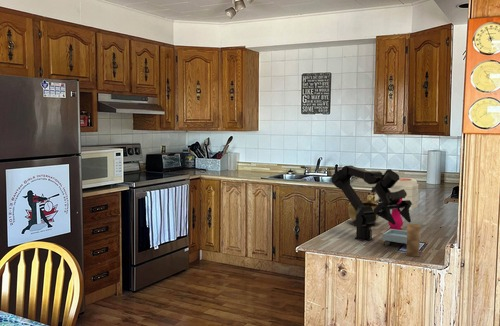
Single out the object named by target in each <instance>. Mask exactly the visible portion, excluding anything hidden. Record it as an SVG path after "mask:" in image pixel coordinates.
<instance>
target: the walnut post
mask: <svg viewBox="0 0 500 326" xmlns="http://www.w3.org/2000/svg"><path fill="white" fill-rule="evenodd" d="M406 229H407V230H406V231H407V244H406V245H407V247H406V253H405V254H406V256H408V257H411V256H412V257H413V258H416V257H419V256H420V240H421V235H420V233H421V225H420V224H418V223H408V224H407V228H406ZM419 239H420V240H419Z"/></svg>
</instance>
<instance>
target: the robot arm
mask: <svg viewBox="0 0 500 326" xmlns="http://www.w3.org/2000/svg"><path fill="white" fill-rule="evenodd" d="M353 176H354V177H356V178H359V179H362V180H363V182H365V183H367V184H368V185H374V186H371V191H370V192H371V193H373V194H374V193H375V194H377V195H378V197H379V198H380V200H379V201H378V202H379V203H377V204H378V205H377V206H376V207H375V208H374V211H373V209H372V207H371V206H365V205H364V204H363V202H364V201H363V200H362V199H361V198H360V197H359V196H358V194H357V192H356V191H355V190H354V188H353V186H352V185H351V178H352V177H353ZM399 178H400V175H399V174H398V173H397V172H395V171H393V170H392V169H389V168H388V169H386V171H385V172H384V173H383V172H382V171H379V170H378V171H377V170H366V169H364V168H363V169H362V168H360V167H356V166H354V165H351V164H350V165H344V166H343V167H341V168H340V169H339V170H337V171H336V172H335V173H333V174H332V176H331V183H332V185H334V187H335V188H337V189H339V190H341V191H342V193H343V194H344V195H345V197H346V199H347V201H349V203H351V204H352V206H353V207H354V209H355V210H356V219H355V220H354V221H353V220H352V221H353V226H354V227H355V229H356V232H355V233H356V235H355V236H356V237H355V238H354V240H359V241H365V242H366V241H367V242H368V241H370V240H372V239H373V229H372V227H375V223H376V221H377V220H376V215H378V216H379V217H380V218H381V219H383V220H386V221H387V222H388V221H389V222H390V223H392V224H393V225H395V224H396V223H395V220H394V219H393V217H392V215H391V214H392V212H391V211H392V209H397V210H398V211H399V212H400V215H401V217H403V218H404V220H405V221H406V222H408V224H411V222H412V219H411V215H410V210H409V208H410V207H411V205H412V203H411V201H410V200H403V201H402V202H401V203H400V204H398V202H400V199H402V198H405V196H407V193H406V191H405V190H404V189H403V190H399V191H396V192H391V191H390V190H389V188H392V187H393V186H394V185H395V184H396V182H397V181H398V180H399ZM360 199H361V200H362V201H361V200H360Z"/></svg>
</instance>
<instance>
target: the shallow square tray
mask: <svg viewBox="0 0 500 326" xmlns="http://www.w3.org/2000/svg"><path fill="white" fill-rule="evenodd" d="M421 234H422V233H421V232H420V236H421ZM381 240H382V241H384V242H383V244H384V246H387V247H388V246H389V245H390V244H391V242H393V243H394V242H395V243H400V244H405V245H406V246H405V247H406V248H407V230H395V229H390V230H389V229H388V230H387V231H385V232H384V233H382V235H381ZM420 240H421V238H420V239H419V241H420Z"/></svg>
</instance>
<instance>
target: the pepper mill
mask: <svg viewBox="0 0 500 326" xmlns="http://www.w3.org/2000/svg"><path fill="white" fill-rule="evenodd" d="M401 202H402V199H400V202H398V204H400V203H401ZM391 215H392V217H393V219H394V220H395V223H396V224H395V225H393V224H392V223H390V222H389V221H387V223H388V224H387V225H389V227H388V230H390V229H395V230H402V229H403V228H402V227H403V226H404V221H403V218H402V215H401V214H400V212H399V211H398V210H397V209H391ZM402 231H403V230H402Z"/></svg>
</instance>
